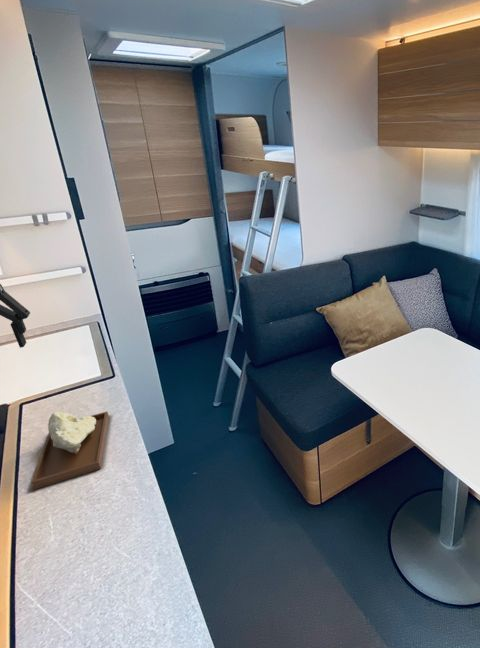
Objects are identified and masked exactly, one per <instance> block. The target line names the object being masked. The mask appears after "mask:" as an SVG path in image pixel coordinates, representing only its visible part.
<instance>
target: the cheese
mask: <svg viewBox="0 0 480 648" xmlns="http://www.w3.org/2000/svg"><path fill="white" fill-rule="evenodd" d="M91 416H92V415H83V416H82V417H79V418H78V417H77V416H74V415H73V414H71V413H68V412H62V411H60V410H58V411H54V412H52V413H51V416H49V419H48V423H47V427H48V434H49V433H50V435H51V439H52V440H53V446H54V447H57V448H61V449H65V450H67V451H69V452H71V453H75V454H76V453H77V452H78V451H79V447H80V446H81V444H80V443H81V442H82V441H83V440H84V439H85V438H86V436H87V435H89V434H90V433H91V432H93V431H94V429H95V424H96V419H95V418H94V417H91Z"/></svg>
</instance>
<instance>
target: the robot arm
mask: <svg viewBox="0 0 480 648" xmlns="http://www.w3.org/2000/svg"><path fill="white" fill-rule="evenodd" d="M0 302H2V303H3V304H4V305H5V306H4V305H2V304H0V316H1V317H3V318H5V319H7V320H8V321H11V323H10V327H11V330H12V332H13V335H14V337H15V339H16V342H17V345H18V347H19V348H20V349H21V348H25V346H26V344H27V340H26V337H25V333H26V332H27V327H26V325H25V321H24V320H26V319H28V318H29V316H30V314H31V312H30V310H28V309H27V308H26V307H25V306H24V305H23V304H21V303H20V302H19V301H18V300H16V299H15V298H14V297H13V296H12V295H10V294H9V293H8V292H7V291H6V290H5V289H4V286H3V285H2V283H0Z"/></svg>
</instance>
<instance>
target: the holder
mask: <svg viewBox="0 0 480 648" xmlns="http://www.w3.org/2000/svg"><path fill="white" fill-rule="evenodd" d="M90 416H91V417H94V418H95V419H96V424H95V429H94V431H93V432H91V433H90V434H89V435H87V436H86V438H85V439H84V440H83V441H82V442H81V443H80V444H81V446H80V447H79V451H78V452H77V453H76V454H75V453H71V452H69V451H67V450H65V449H61V448H57V447H54V446H53V440H52V439H51V435H50V433H49V432H48V434H47V436H46V440H45V441H44V445H43V448H42V451H41V454H40V457H39V458H38V459H39V460H38V462H37V465H36V468H35V471H34V474H33V477H32V479H31V482H30V483H31V485H32V488H33V489H34V490H37V489H40V488H43V487H46V486H49V485H52V484H56V483H59V482H62V481H63V482H64V481H67V480H69V479H73V478H75V477H78V476H79V477H80V476H82V475H85V474H88V473H91V472H96V471H98V470H101V469H102V466H103V465H102V464H103V459H104V452H105V446H106V440H107V435H108V434H107V433H108V427H109V423H110V422H109V421H110V415H109V412H108V411H104V412H100V413H96V414H92V415H90Z"/></svg>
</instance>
